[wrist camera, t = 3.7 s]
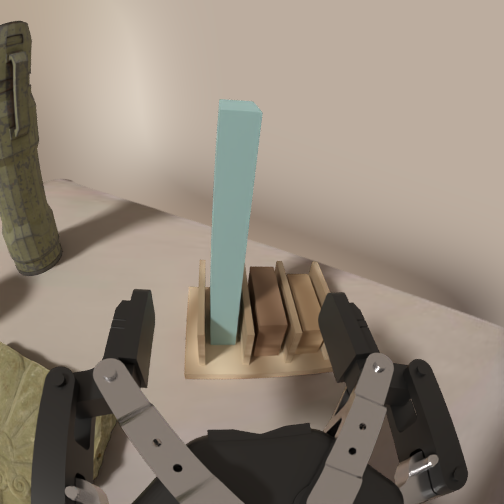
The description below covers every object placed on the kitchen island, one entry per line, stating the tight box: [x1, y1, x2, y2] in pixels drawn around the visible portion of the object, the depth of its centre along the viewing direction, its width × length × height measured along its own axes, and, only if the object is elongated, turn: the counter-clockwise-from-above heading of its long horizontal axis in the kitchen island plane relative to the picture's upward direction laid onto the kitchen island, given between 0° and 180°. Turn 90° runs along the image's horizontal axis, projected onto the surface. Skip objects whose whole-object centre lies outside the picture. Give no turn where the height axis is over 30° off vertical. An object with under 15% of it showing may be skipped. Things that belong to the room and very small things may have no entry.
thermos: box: [0, 21, 62, 276], centre depth 26 cm, size 9×12×35 cm
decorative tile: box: [0, 342, 117, 504], centre depth 14 cm, size 19×20×4 cm
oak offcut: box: [286, 274, 323, 354], centre depth 31 cm, size 2×8×4 cm, turn 6°
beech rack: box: [184, 260, 333, 379], centre depth 30 cm, size 16×12×6 cm
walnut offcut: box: [248, 267, 288, 356], centre depth 30 cm, size 2×8×5 cm, turn 6°
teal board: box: [210, 99, 262, 345], centre depth 24 cm, size 2×5×22 cm, turn 6°
